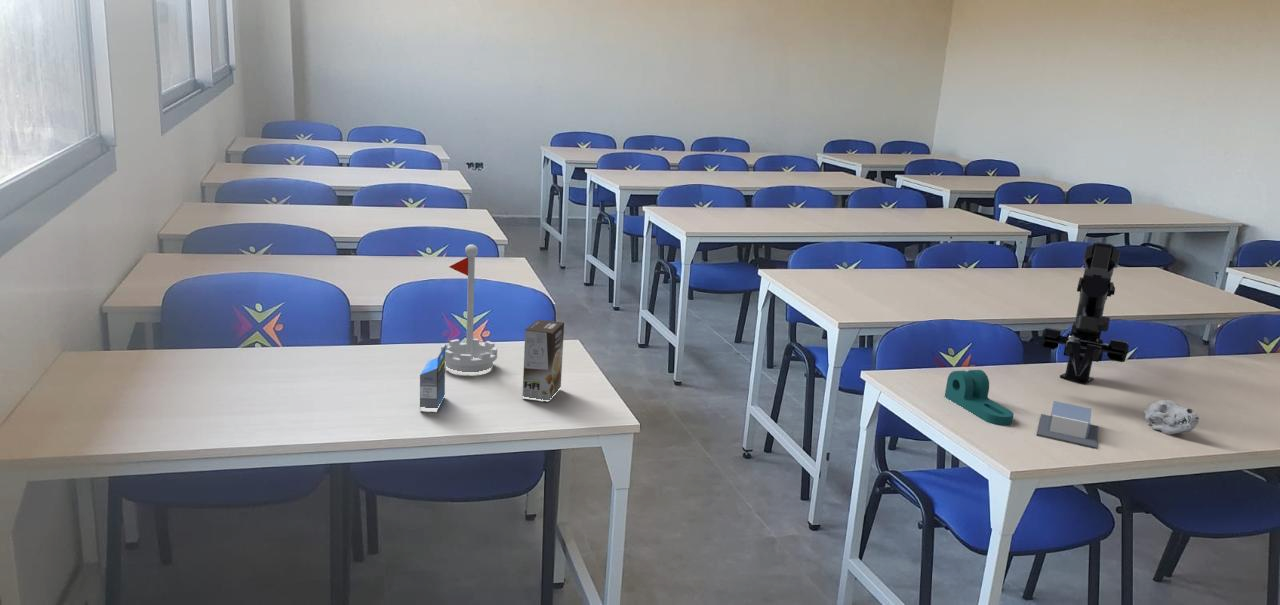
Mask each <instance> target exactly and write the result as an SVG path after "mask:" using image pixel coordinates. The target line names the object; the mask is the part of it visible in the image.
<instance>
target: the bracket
mask: <svg viewBox="0 0 1280 605" xmlns="http://www.w3.org/2000/svg"><path fill="white" fill-rule="evenodd" d="M989 392H990V380H989V377H988V375H987V374H986V372H985V371H984V370H982V369H970V370H953V371H951V372H950V373H949V375H948V378H947V380H946V386H945V392H944V398H945V397H946V398H945V399H947V400H949V401H950V400H951V402H953V403H954V404H955V403H956V404H955V405H957V406H959V407H960V406H961V407H960V408H962V407H963V408H962V409H964V410H965V409H966V410H965V411H967V410H968V411H967V412H969V413H970V412H971V413H970V414H972V413H973V415H974V416H975V415H976V416H975V417H978V418H979V419H981V420H982V421H984V422H986V423H988V424H991V425H996V426H1001V427H1002V426H1004V427H1005V426H1011V425H1012V424H1013V421H1014V420H1013V419H1014V414H1015V413H1014V412H1013V411H1012V410H1010V409H1008V408H1007V407H1004V406H1003V405H1001V404H999V403H997V401H994V400H992V399H991V398H989Z"/></svg>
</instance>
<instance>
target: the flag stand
mask: <svg viewBox="0 0 1280 605" xmlns="http://www.w3.org/2000/svg"><path fill="white" fill-rule="evenodd" d="M464 253H465V255H466V256H467V257H464V258H463V259H461V260H460V261H457V262H455V263H454V264H453V263H452V264H451V265H450V266H448V268H450V269H452V270H454V271H457V272H459V273H461V274H463V275H465V276H467V293H466V294H467V297H466V298H467V300H466V302H467V303H466V342H461V341H460V339H458V338H456V339H451V340H449V341H448V344H447V343H442V344H441V348H440V349H441V350H440V352H441V351H442V349H443V348H444V346H445V344H446V351H445V367H446V366H447V367H448V368H450V369H453V370H457V371H462V372H479V371H483V370H487V369H489V368H491V367H492V365H494V362H495V361H496V360H497V359H498V346H495V344H496V343H494V342H492V341H489V340H486V341H485V342H484V344H483V343H480V340H479V338H474V317H475V316H474V310H475V309H474V307H475V306H474V305H475V270H476V269H475V265H476V263H475V262H476V260H475V259H476V256H477V255H478V253H479V249H478V247H477V245H475V244H468V245H466V247H465V250H464ZM460 342H461V343H460ZM442 356H443V354H442ZM473 357H474V358H479V359H473Z"/></svg>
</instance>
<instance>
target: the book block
mask: <svg viewBox="0 0 1280 605" xmlns="http://www.w3.org/2000/svg"><path fill="white" fill-rule="evenodd" d="M1050 412H1051V413H1050V415H1049V416H1050V421H1049V426H1048V430H1050V431H1052V432H1057V433H1062V434H1066V435H1071V436H1075V437H1080V438H1086V439H1087V437H1088V432H1089V427H1090V424H1091V417H1092V408H1090V407H1085V406H1081V405H1075V404H1072V403H1071V404H1070V403H1067V402H1062V401H1057V400H1053V403H1052V408H1051V411H1050Z"/></svg>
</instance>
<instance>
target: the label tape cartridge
mask: <svg viewBox="0 0 1280 605" xmlns="http://www.w3.org/2000/svg"><path fill="white" fill-rule="evenodd" d="M444 344H445V346H444V348H443V349H442V351H441V350H440V353H439V355H438V356H437V357H435V358H433V359H430V360H428V361H427V363H426V364H425V366H424V368H423V370H422V372H421V373H420V374H419V408H420V407H425V408H438V406H439V404H440V403H441V401H442V399H443V397H444V395H445V396H446V362H445V351H446V344H447V343H444ZM442 354H443V356H442Z"/></svg>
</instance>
